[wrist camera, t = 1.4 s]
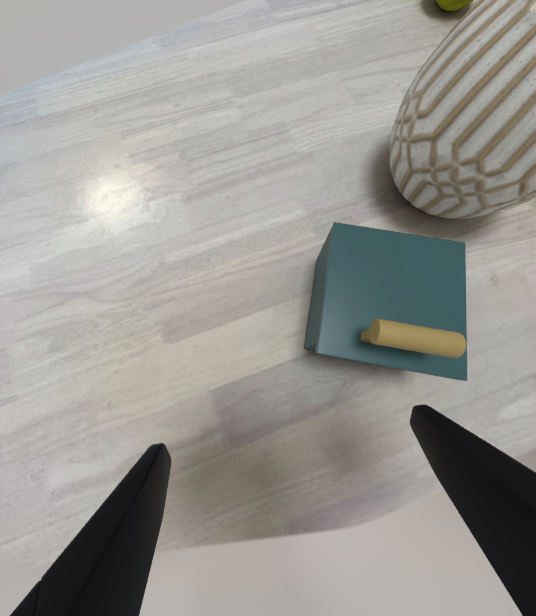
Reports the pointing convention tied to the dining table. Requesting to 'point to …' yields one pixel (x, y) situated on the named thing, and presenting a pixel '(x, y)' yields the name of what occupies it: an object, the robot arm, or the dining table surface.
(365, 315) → the box lid
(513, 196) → the vase
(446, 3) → the apple
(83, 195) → the dining table surface
